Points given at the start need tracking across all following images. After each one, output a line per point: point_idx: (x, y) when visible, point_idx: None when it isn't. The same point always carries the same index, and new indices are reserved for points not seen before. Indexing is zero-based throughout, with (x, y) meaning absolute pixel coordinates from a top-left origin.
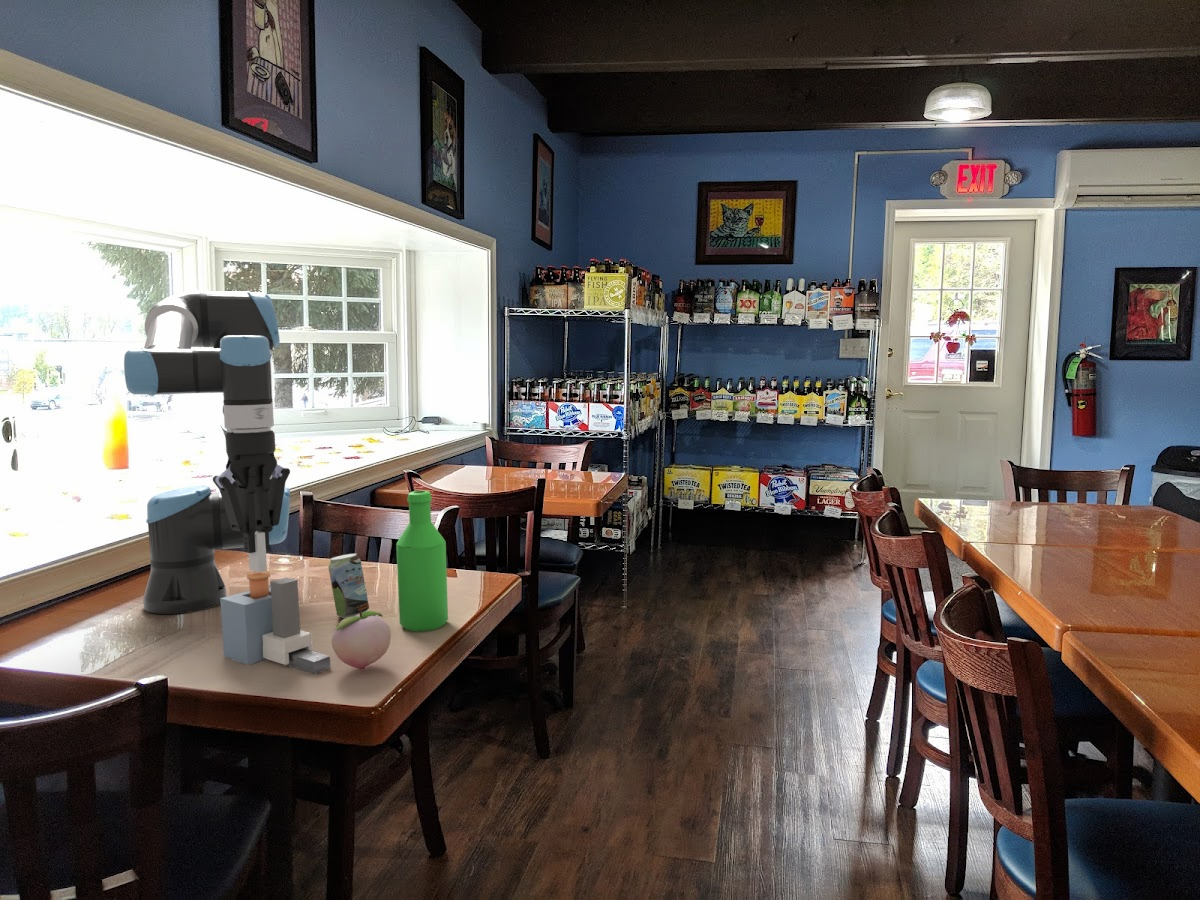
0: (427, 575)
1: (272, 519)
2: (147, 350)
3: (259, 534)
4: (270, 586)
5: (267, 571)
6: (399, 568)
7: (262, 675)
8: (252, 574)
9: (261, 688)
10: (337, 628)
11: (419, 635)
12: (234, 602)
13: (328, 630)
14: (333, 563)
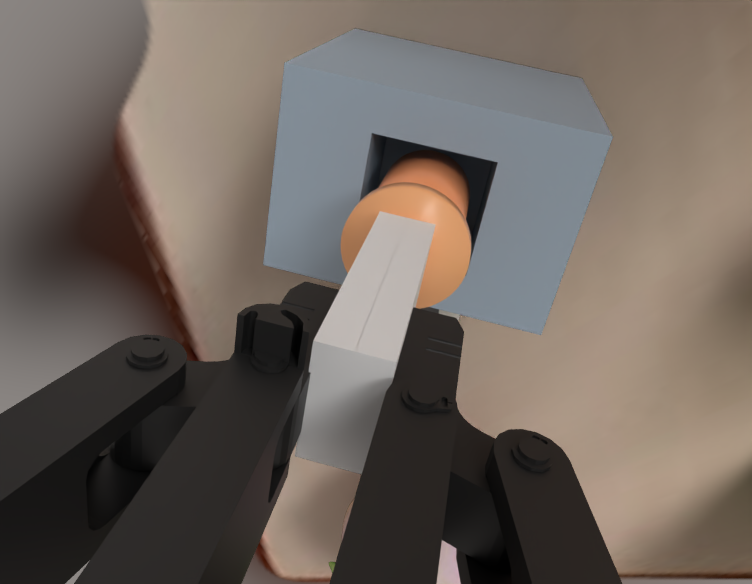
0: None
1: (464, 566)
2: None
3: (320, 458)
4: (567, 152)
5: (461, 269)
6: None
7: (292, 277)
8: None
9: (230, 333)
10: (332, 569)
11: (745, 499)
12: (271, 190)
13: (743, 199)
14: None
